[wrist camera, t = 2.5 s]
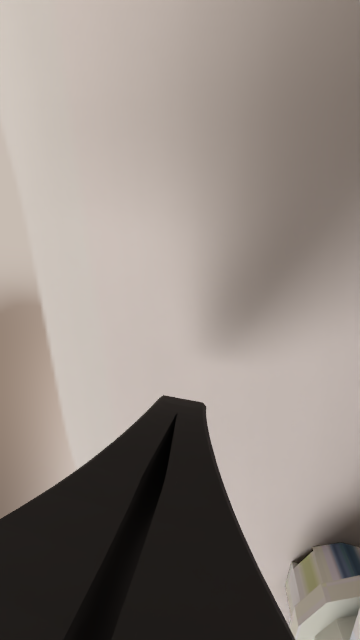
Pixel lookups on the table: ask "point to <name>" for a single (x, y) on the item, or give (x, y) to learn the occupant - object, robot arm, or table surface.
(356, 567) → the white tube
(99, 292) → the table surface
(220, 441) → the table surface
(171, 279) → the table surface
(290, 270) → the table surface
